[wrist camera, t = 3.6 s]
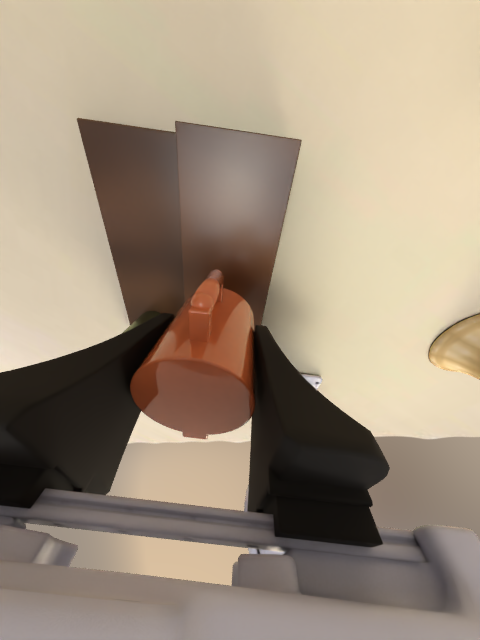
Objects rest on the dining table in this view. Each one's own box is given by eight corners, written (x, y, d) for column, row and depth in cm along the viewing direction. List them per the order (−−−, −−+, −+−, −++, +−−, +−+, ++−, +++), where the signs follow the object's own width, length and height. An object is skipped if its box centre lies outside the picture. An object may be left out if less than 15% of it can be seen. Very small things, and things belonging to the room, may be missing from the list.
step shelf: (251, 348, 22) (251, 367, 19) (138, 334, 22) (123, 350, 19) (291, 153, 12) (301, 139, 10) (87, 123, 12) (44, 100, 9)
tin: (173, 339, 21) (156, 369, 17) (142, 335, 20) (117, 364, 17) (171, 313, 19) (150, 340, 15) (136, 308, 19) (107, 334, 15)
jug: (247, 357, 13) (244, 447, 8) (184, 349, 13) (143, 434, 8) (265, 265, 10) (279, 327, 5) (178, 253, 10) (97, 303, 5)
